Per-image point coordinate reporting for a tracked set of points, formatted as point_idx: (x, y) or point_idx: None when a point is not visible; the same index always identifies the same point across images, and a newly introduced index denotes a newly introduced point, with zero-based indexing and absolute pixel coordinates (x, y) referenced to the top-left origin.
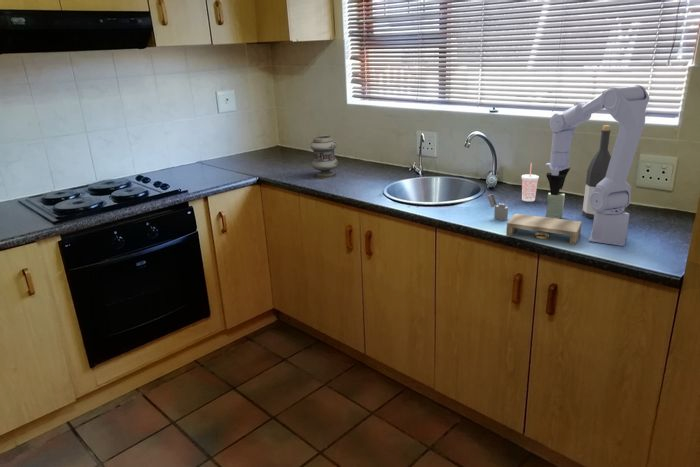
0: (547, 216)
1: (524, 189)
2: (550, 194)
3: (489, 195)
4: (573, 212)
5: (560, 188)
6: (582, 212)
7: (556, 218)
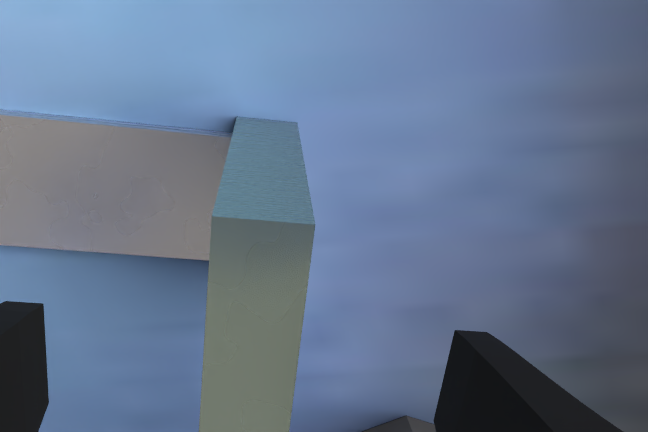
0: (187, 141)
1: None
2: (210, 256)
3: None
4: None
5: (442, 414)
6: (409, 427)
7: (152, 234)
